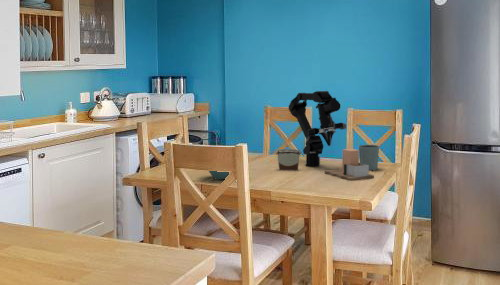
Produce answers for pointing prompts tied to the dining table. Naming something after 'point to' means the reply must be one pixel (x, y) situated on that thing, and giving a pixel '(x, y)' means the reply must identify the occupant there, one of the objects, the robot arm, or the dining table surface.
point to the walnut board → (341, 175)
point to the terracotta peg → (350, 157)
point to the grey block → (356, 170)
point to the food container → (288, 159)
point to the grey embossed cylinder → (369, 156)
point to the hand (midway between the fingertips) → (329, 145)
